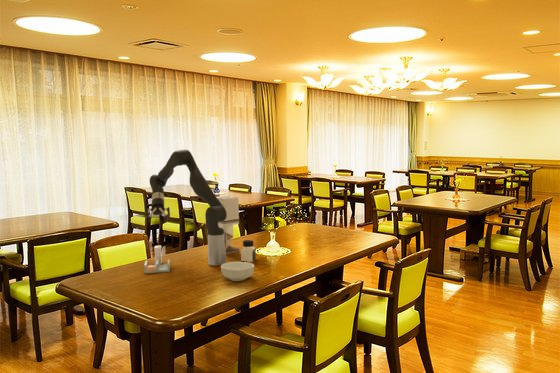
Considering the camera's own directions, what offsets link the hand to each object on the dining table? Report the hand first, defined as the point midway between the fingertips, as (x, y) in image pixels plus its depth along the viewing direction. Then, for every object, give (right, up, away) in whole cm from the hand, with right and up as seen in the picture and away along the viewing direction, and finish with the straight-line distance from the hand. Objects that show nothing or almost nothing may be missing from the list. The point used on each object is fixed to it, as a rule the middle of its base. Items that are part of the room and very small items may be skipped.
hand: (157, 222), depth 271 cm
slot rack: (+6, -24, -23) cm, 34 cm away
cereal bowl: (+52, -26, -41) cm, 71 cm away
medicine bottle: (+55, -22, -4) cm, 59 cm away
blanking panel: (+3, -23, -10) cm, 25 cm away
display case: (+39, -20, +18) cm, 48 cm away
